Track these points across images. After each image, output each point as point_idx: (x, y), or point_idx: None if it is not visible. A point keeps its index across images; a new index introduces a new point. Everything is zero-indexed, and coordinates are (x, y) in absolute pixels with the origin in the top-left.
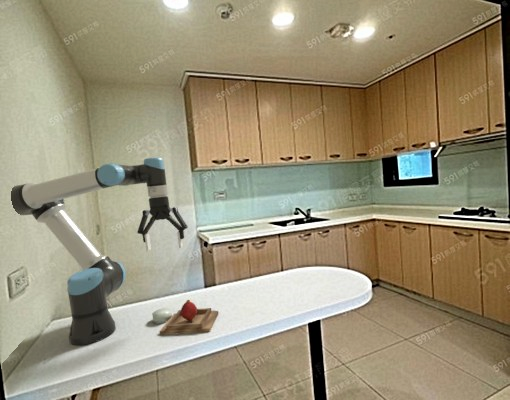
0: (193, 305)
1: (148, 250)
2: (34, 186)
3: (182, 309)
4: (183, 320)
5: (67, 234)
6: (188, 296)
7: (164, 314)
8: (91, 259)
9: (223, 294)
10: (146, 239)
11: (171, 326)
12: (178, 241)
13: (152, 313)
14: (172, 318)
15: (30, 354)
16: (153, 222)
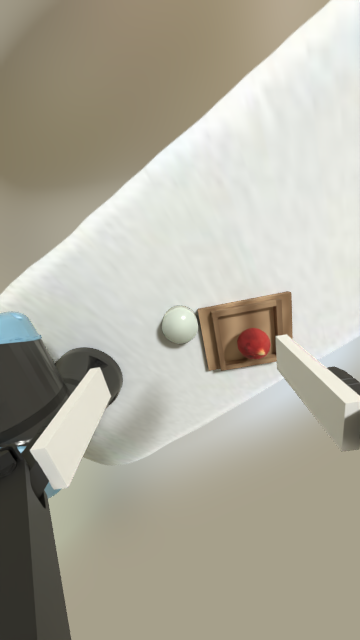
0: (269, 349)
1: (110, 395)
2: None
3: (247, 357)
4: (233, 335)
5: None
6: (170, 193)
7: (193, 336)
8: None
9: (271, 174)
10: (81, 451)
11: (229, 368)
12: (297, 392)
13: (163, 333)
14: (217, 346)
15: None
16: (44, 623)
